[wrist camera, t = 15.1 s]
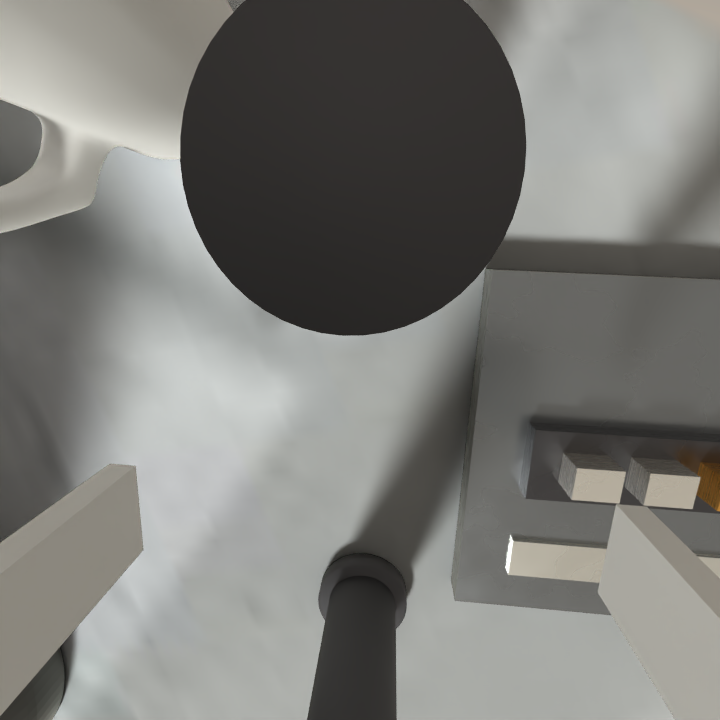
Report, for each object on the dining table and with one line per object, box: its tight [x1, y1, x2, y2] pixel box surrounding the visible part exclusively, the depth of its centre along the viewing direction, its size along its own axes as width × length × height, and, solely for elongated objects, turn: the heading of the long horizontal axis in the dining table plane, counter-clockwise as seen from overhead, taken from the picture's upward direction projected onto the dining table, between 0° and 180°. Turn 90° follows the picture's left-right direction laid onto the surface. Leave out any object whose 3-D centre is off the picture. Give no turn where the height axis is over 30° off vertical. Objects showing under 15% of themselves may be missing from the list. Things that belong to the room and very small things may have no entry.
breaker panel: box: [451, 269, 720, 615], centre depth 16 cm, size 15×14×3 cm
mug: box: [0, 0, 233, 233], centre depth 10 cm, size 10×7×12 cm, turn 158°
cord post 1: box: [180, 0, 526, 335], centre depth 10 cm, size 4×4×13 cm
